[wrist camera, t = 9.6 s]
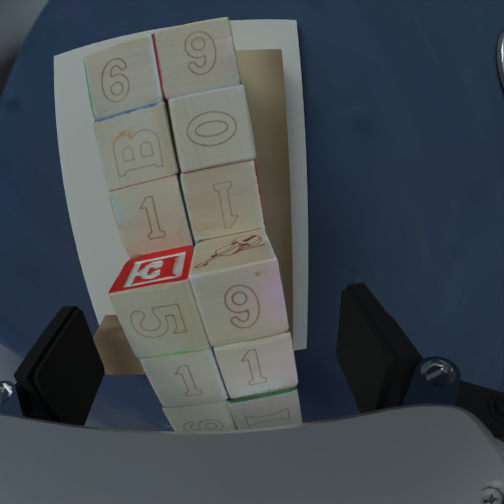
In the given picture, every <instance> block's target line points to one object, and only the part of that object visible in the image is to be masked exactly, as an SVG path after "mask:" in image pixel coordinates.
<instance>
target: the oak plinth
mask: <svg viewBox="0 0 504 504" xmlns="http://www.w3.org/2000/svg"><path fill="white" fill-rule="evenodd" d="M235 52H236V58H237V63H238V69H239V75H240V81H241V83H242V84H243V85H244V86H245V89H246V95H247V100H248V105H249V111H250V116H251V121H252V127H253V134H254V140H255V147H256V153H257V157H256V159H255V163H256V169H257V175H258V181H259V188H260V194H261V200H262V206H263V213H264V219H265V225H266V231H267V234H268V236H269V239H270V241H271V244H272V246H273V248H274V251H275V253H276V256H277V258H278V261H279V267H280V273H281V279H282V284H283V291H284V297H285V303H286V309H287V315H288V322H289V330H290V334H291V337H292V342H293V262H292V222H291V193H290V170H289V149H288V131H287V115H286V99H285V85H284V72H283V60H282V49H257V50H235Z"/></svg>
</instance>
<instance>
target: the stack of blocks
mask: <svg viewBox="0 0 504 504" xmlns="http://www.w3.org/2000/svg"><path fill="white" fill-rule="evenodd" d="M84 65H85V72H86V79H87V85H88V92H89V99H90V104H91V109H92V114H93V116H94V119H95V121H94V124H93V125H94V132H95V137H96V141H97V146H98V151H99V156H100V160H101V164H102V168H103V172H104V176H105V181H106V185H107V188H108V190H109V197H110V202H111V205H112V209H113V213H114V216H115V220H116V223H117V226H118V229H119V232H120V236H121V239H122V242H123V245H124V248H125V250H126V252H127V254H128V256H129V257H130V260H128V261H127V262H126V263H125V265H124V266H123V268H122V270H121V272H120V273H119V275H118V276H117V278H116V280H115V282H114V283H113V285H112V287H111V288H110V291H109V293H108V295H109V297H110V300H111V303H112V305H113V307H114V310H115V312H116V315H117V317H118V319H119V322H120V324H121V326H122V328H123V330H124V332H125V335H126V337H127V340H128V342H129V344H130V346H131V348H132V350H133V352H134V354H135V356H136V357H137V358H139V361H140V363H141V365H142V368H143V370H144V372H145V374H146V376H147V378H148V380H149V382H150V384H151V386H152V387H153V389H154V391H155V393H156V395H157V397H158V399H159V401H160V403H161V404H162V409H163V411H164V413H165V415H166V417H167V418H168V420H169V422H170V424H171V426H172V427H173V429H174V431H175V432H200V431H226V430H242V429H255V428H266V427H275V426H284V425H292V424H299V423H302V416H301V410H300V403H299V397H298V391H297V387H296V385H297V383H298V374H297V369H296V362H295V355H294V348H293V342H292V337H291V334H290V330H289V322H288V315H287V309H286V303H285V297H284V291H283V284H282V279H281V273H280V267H279V261H278V258H277V256H276V253H275V251H274V248H273V246H272V244H271V241H270V239H269V236H268V234H267V231H266V225H265V219H264V213H263V206H262V200H261V194H260V188H259V181H258V175H257V169H256V163H255V159H256V157H257V153H256V147H255V140H254V134H253V127H252V121H251V116H250V111H249V105H248V100H247V95H246V89H245V86H244V85H243V84H242V83H241V81H240V75H239V69H238V63H237V58H236V52H235V47H234V42H233V36H232V31H231V26H230V20H229V18H228V17H224V18H217V19H211V20H205V21H199V22H194V23H190V24H185V25H180V26H175V27H170V28H166V29H162V30H158V31H156V32H154V33H153V34H148V35H144V36H140V37H137V38H133V39H130V40H126V41H123V42H120V43H117V44H114V45H112V46H109V47H105V48H103V49H100V50H97V51H94V52H92V53H89V54H87V55H85V56H84Z"/></svg>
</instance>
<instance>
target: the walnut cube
mask: <svg viewBox="0 0 504 504" xmlns="http://www.w3.org/2000/svg"><path fill="white" fill-rule="evenodd" d="M93 340H94V343H95V345H96V348H97V350H98V353H99V355H100V358H101V360H102V362H103V365H104V370H105V372H106V375H146V374H145V372H144V370H143V368H142V365H141V363H140V361H139V358H137V357H136V356H135V354H134V352H133V350H132V348H131V346H130V344H129V342H128V340H127V337H126V335H125V332H124V330H123V328H122V326H121V324H120V322H119V319H118V317H117V315H105V317H104V318H103V320H102V322H101V324H100V326H99V328H98V330H97V332H96V334H95V336H94V337H93Z"/></svg>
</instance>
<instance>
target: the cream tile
mask: <svg viewBox="0 0 504 504" xmlns="http://www.w3.org/2000/svg"><path fill="white" fill-rule="evenodd" d="M230 26H231V31H232V36H233V42H234V47H235V50H257V49H282V60H283V72H284V85H285V99H286V115H287V131H288V149H289V170H290V193H291V222H292V262H293V348H294V350H301V349H307V316H308V198H307V165H306V142H305V123H304V106H303V91H302V77H301V65H300V53H299V42H298V32H297V23H296V20H234V21H230ZM174 27H175V26H174ZM167 28H170V27H167ZM162 29H166V28H161V29H155V30H150V31H145V32H140V33H135V34H130V35H126V36H121V37H117V38H113V39H109V40H105V41H101V42H98V43H94V44H91V45H87V46H84V47H81V48H77V49H74V50H71V51H68V52H65V53H62V54H59V55H56V56H54V91H55V110H56V124H57V135H58V145H59V153H60V161H61V169H62V175H63V182H64V188H65V194H66V200H67V205H68V210H69V215H70V220H71V225H72V230H73V234H74V238H75V243H76V247H77V251H78V255H79V259H80V263H81V267H82V270H83V274H84V278H85V281H86V285H87V288H88V291H89V295H90V298H91V301H92V304H93V308H94V311H95V314H96V317H97V320H98V323H99V326H100V324H101V322H102V320H103V318H104V317H105V315H116V312H115V310H114V307H113V305H112V303H111V300H110V297H109V295H108V293H109V291H110V288H111V287H112V285H113V283H114V282H115V280H116V278H117V276H118V275H119V273H120V272H121V270H122V268H123V266H124V265H125V263H126V262H127V261H128V260H130V257H129V256H128V254H127V252H126V250H125V248H124V245H123V242H122V239H121V236H120V232H119V229H118V226H117V223H116V220H115V216H114V213H113V209H112V205H111V202H110V197H109V190H108V188H107V185H106V181H105V176H104V172H103V168H102V164H101V160H100V156H99V151H98V146H97V141H96V137H95V132H94V125H93V124H94V121H95V119H94V116H93V114H92V109H91V104H90V99H89V92H88V85H87V79H86V72H85V65H84V56H85V55H87V54H89V53H92V52H94V51H97V50H100V49H103V48H105V47H109V46H112V45H114V44H117V43H120V42H123V41H126V40H130V39H133V38H137V37H140V36H144V35H148V34H153V33H154V32H156V31H158V30H162Z"/></svg>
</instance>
